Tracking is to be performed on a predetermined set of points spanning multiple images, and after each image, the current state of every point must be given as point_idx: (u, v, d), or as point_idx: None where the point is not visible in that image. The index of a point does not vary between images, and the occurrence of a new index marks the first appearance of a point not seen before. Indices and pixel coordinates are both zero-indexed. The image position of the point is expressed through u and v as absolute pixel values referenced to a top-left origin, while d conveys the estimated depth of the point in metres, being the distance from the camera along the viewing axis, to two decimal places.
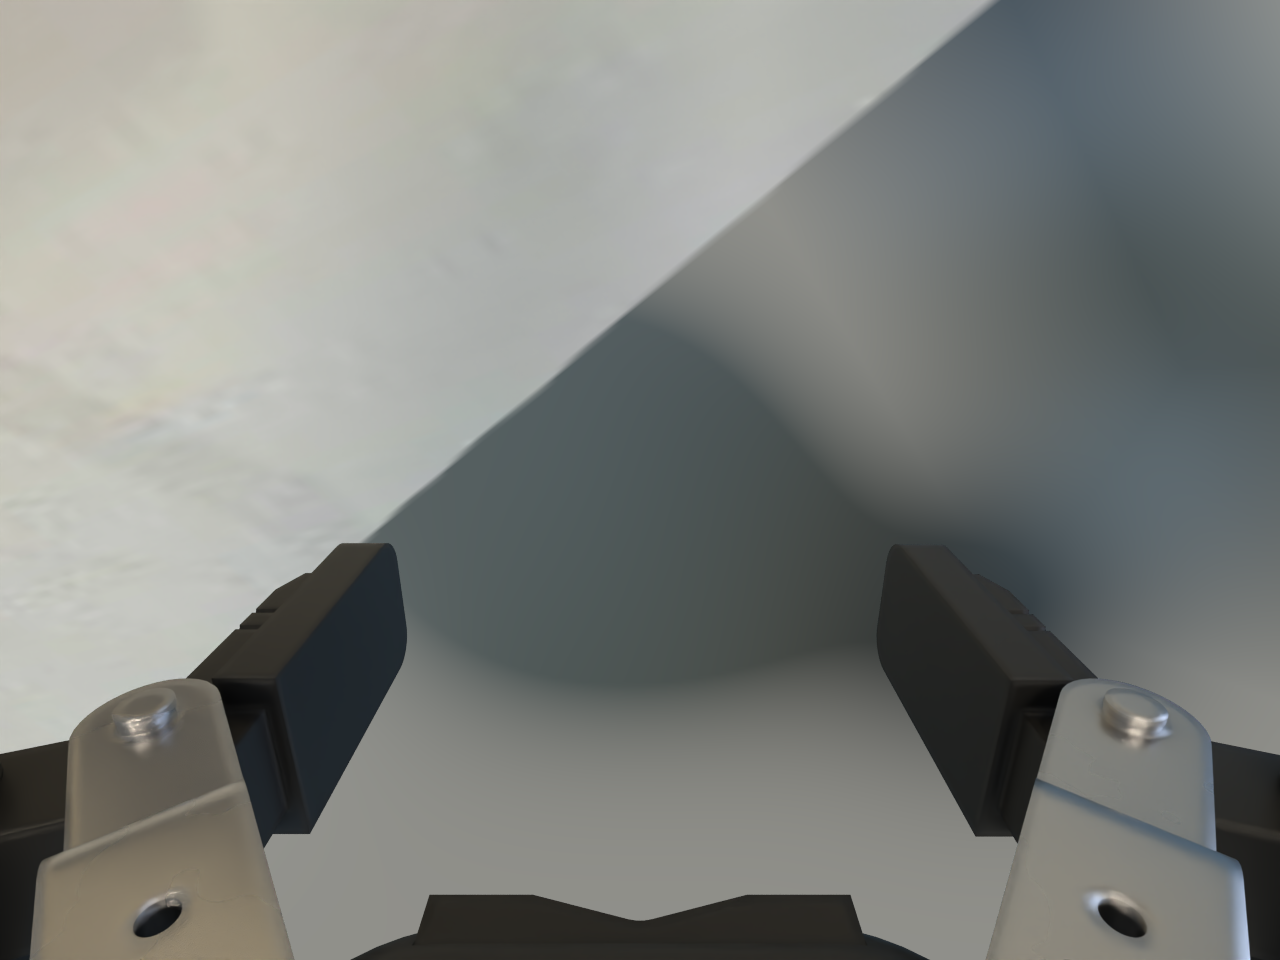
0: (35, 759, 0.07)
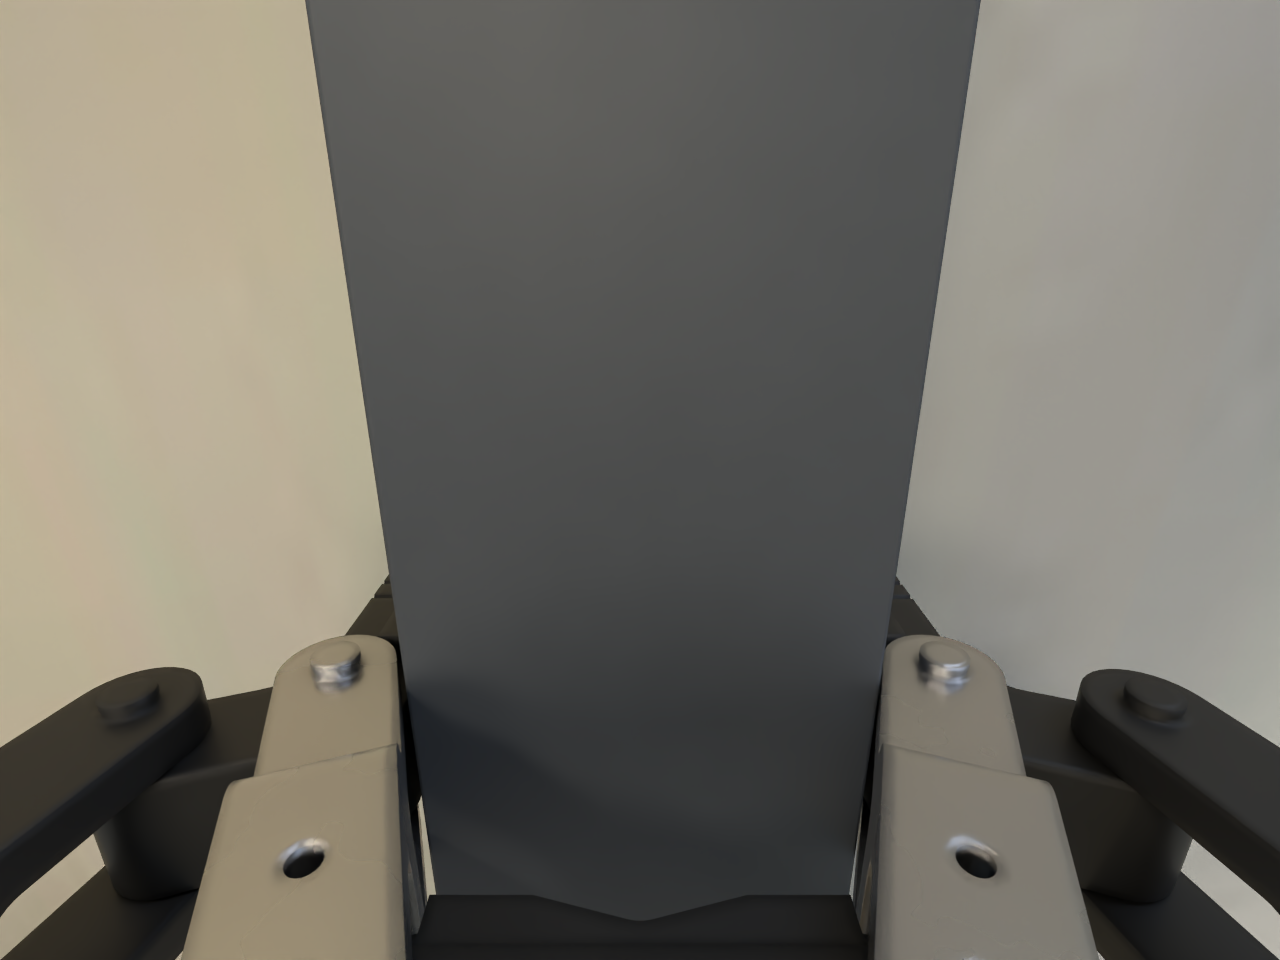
0: (232, 706, 0.07)
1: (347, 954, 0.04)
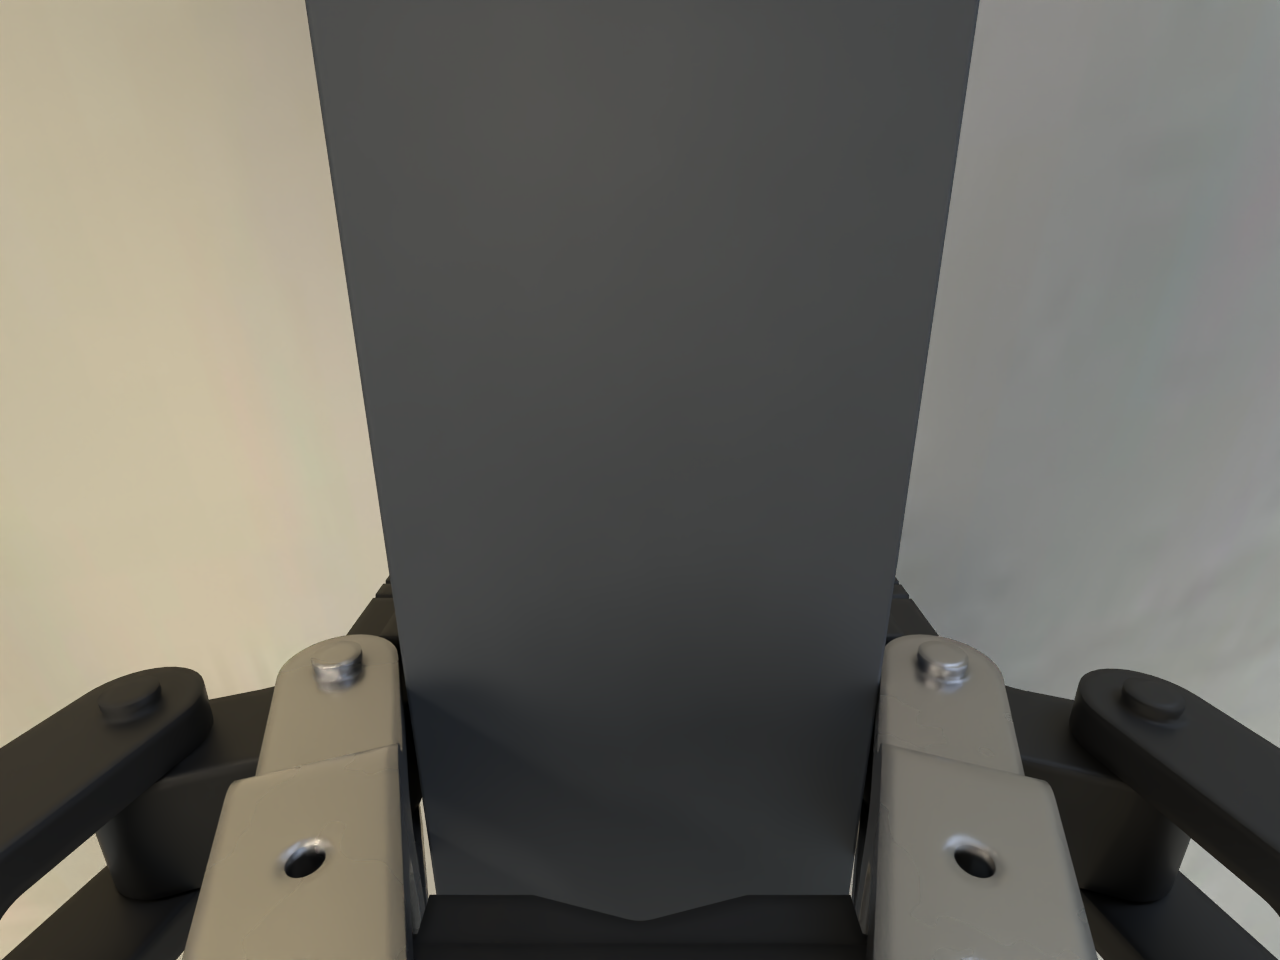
0: (233, 706, 0.07)
1: (348, 954, 0.04)
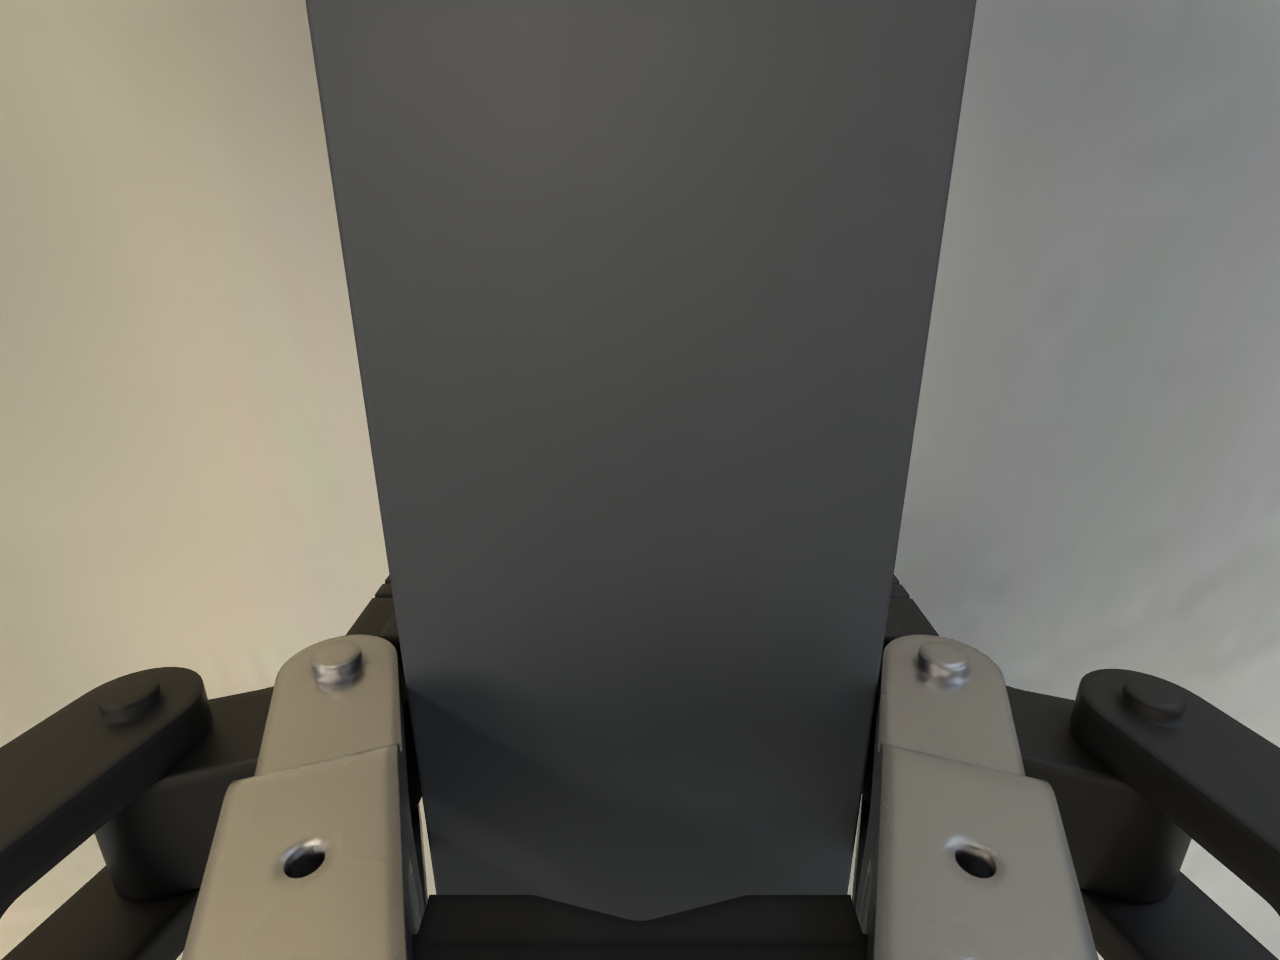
0: (232, 705, 0.07)
1: (347, 954, 0.04)
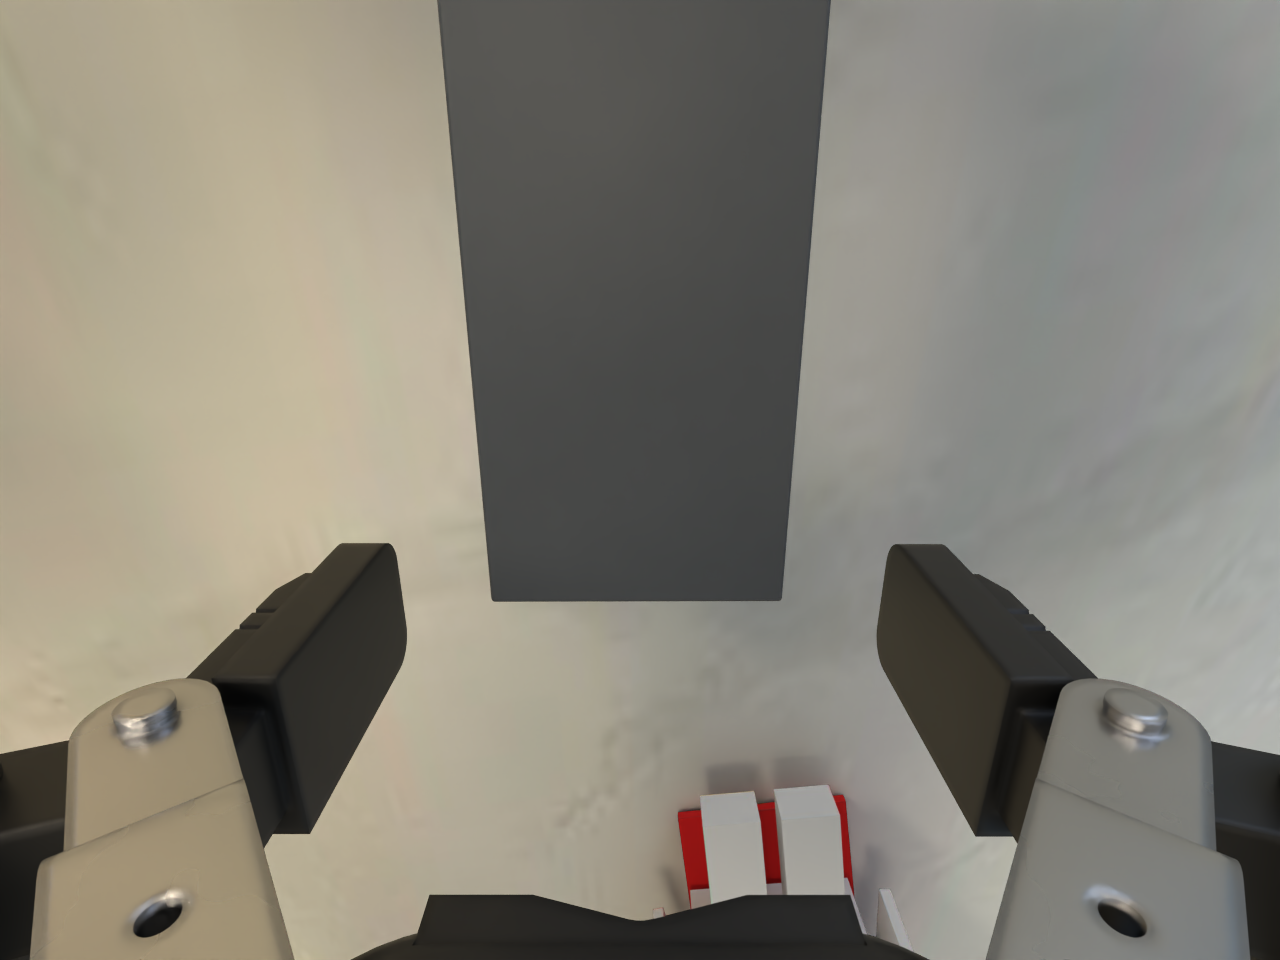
0: (35, 759, 0.07)
1: None
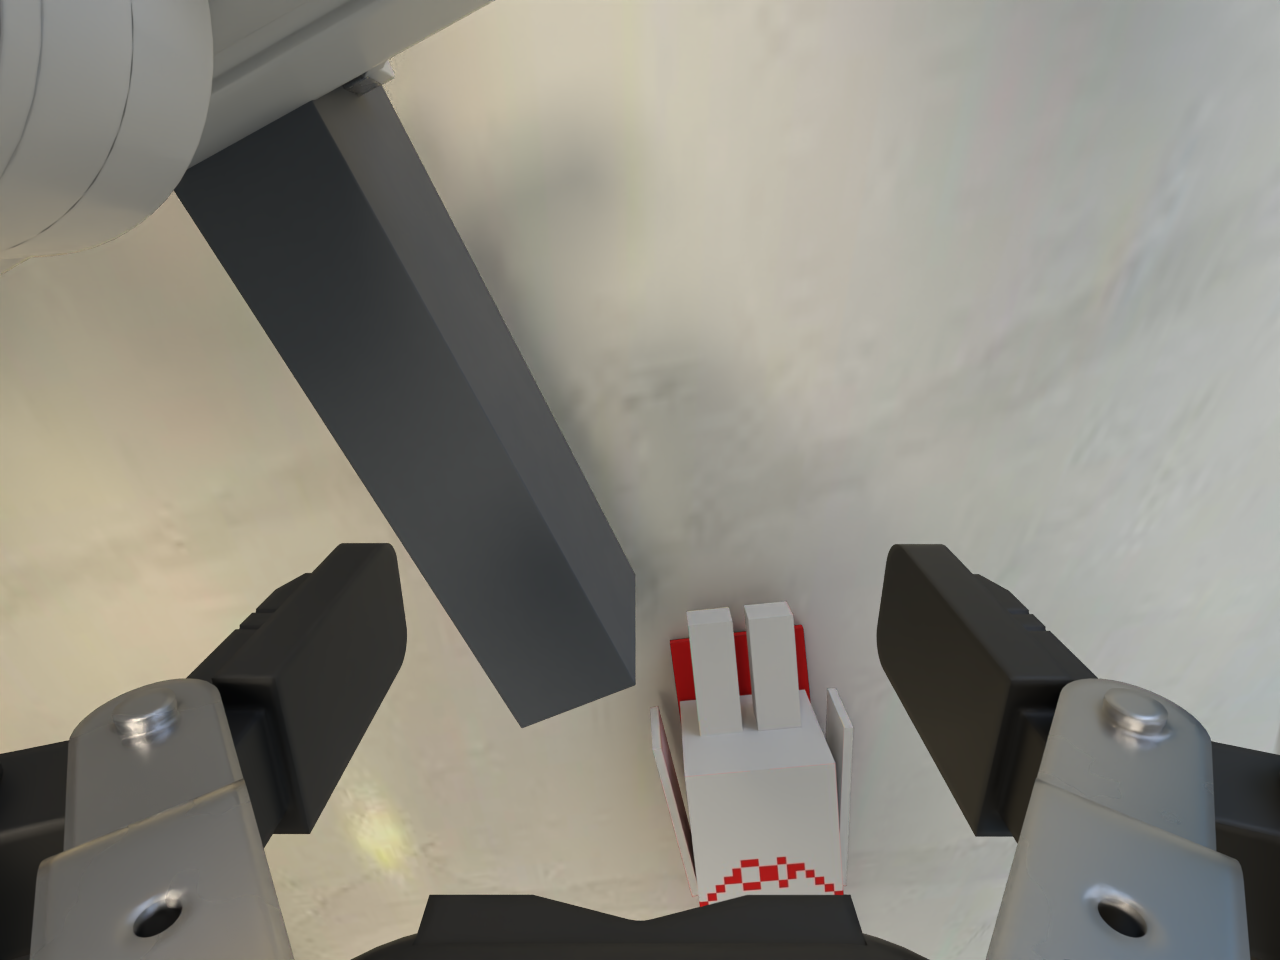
0: (34, 759, 0.07)
1: None
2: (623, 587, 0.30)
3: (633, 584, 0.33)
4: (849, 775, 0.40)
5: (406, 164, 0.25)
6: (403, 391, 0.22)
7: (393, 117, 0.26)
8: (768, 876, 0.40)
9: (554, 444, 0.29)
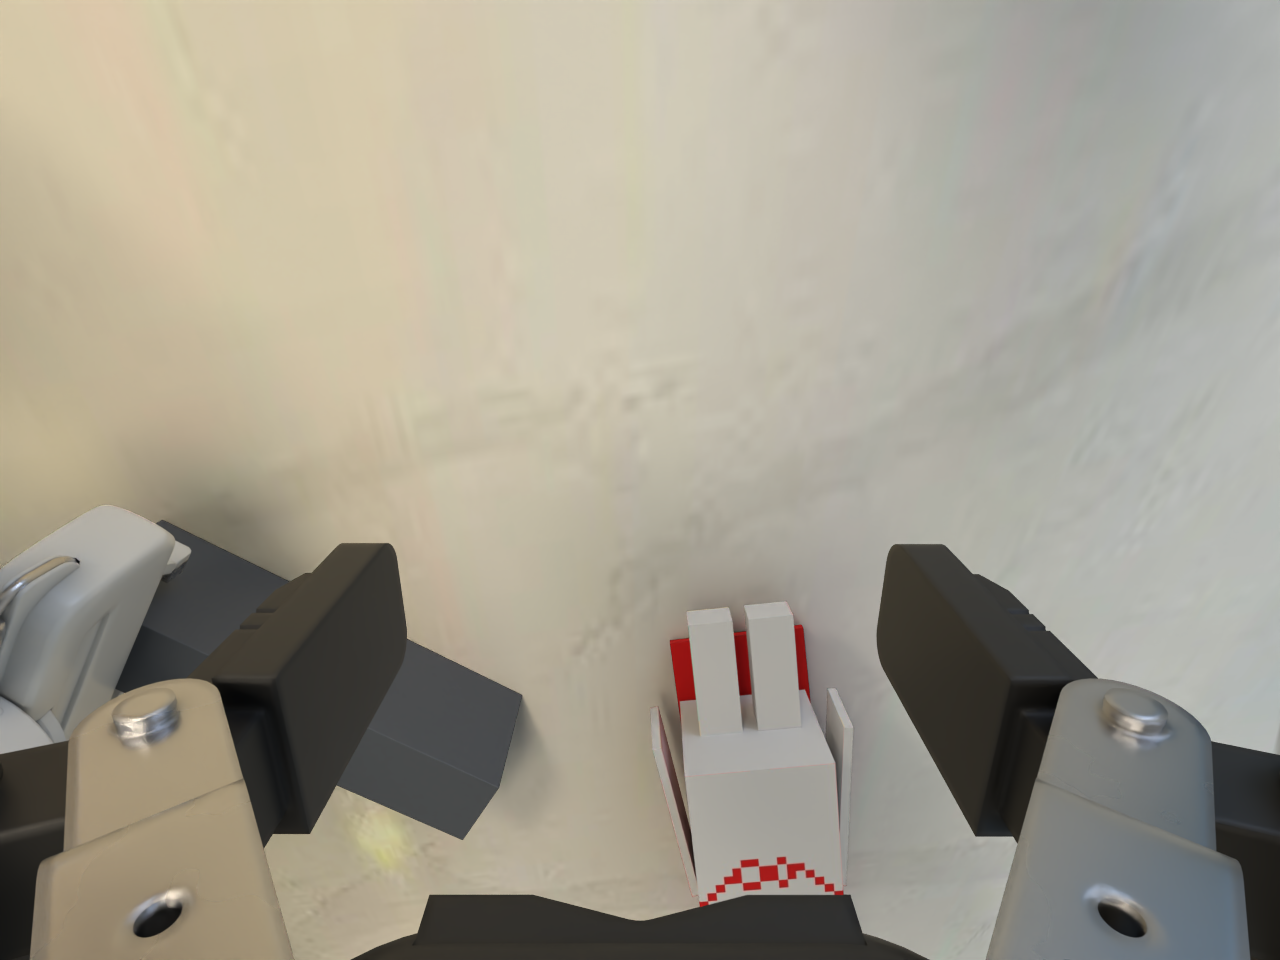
0: (34, 759, 0.07)
1: None
2: (496, 718, 0.45)
3: (516, 706, 0.47)
4: (849, 775, 0.40)
5: (231, 581, 0.43)
6: None
7: (217, 555, 0.44)
8: (768, 876, 0.40)
9: (406, 663, 0.45)
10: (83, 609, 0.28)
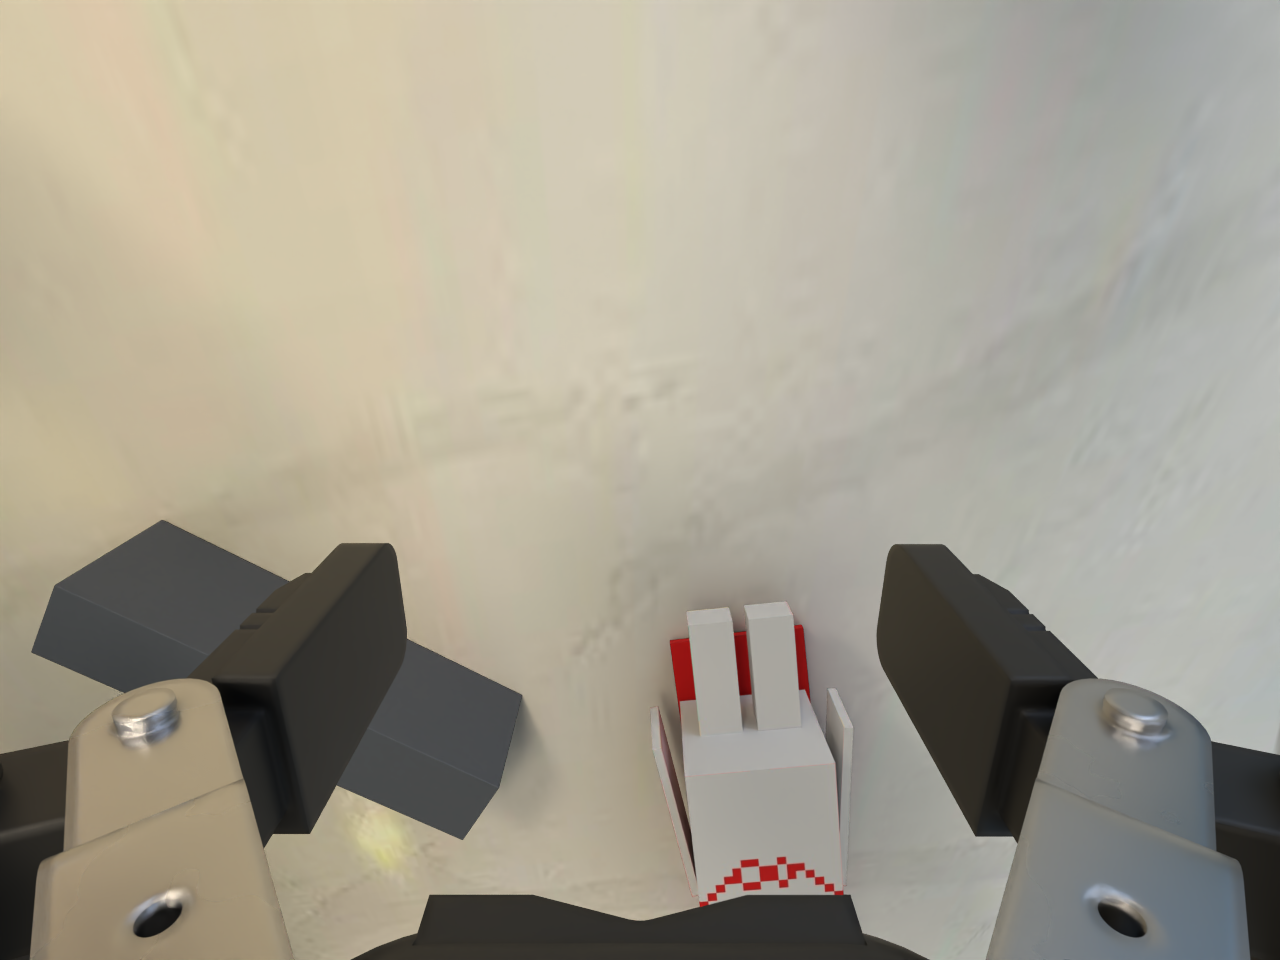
0: (34, 759, 0.07)
1: None
2: (496, 718, 0.45)
3: (516, 706, 0.47)
4: (849, 775, 0.40)
5: (231, 581, 0.43)
6: None
7: (217, 555, 0.44)
8: (768, 876, 0.40)
9: (406, 663, 0.45)
10: None
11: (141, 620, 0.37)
